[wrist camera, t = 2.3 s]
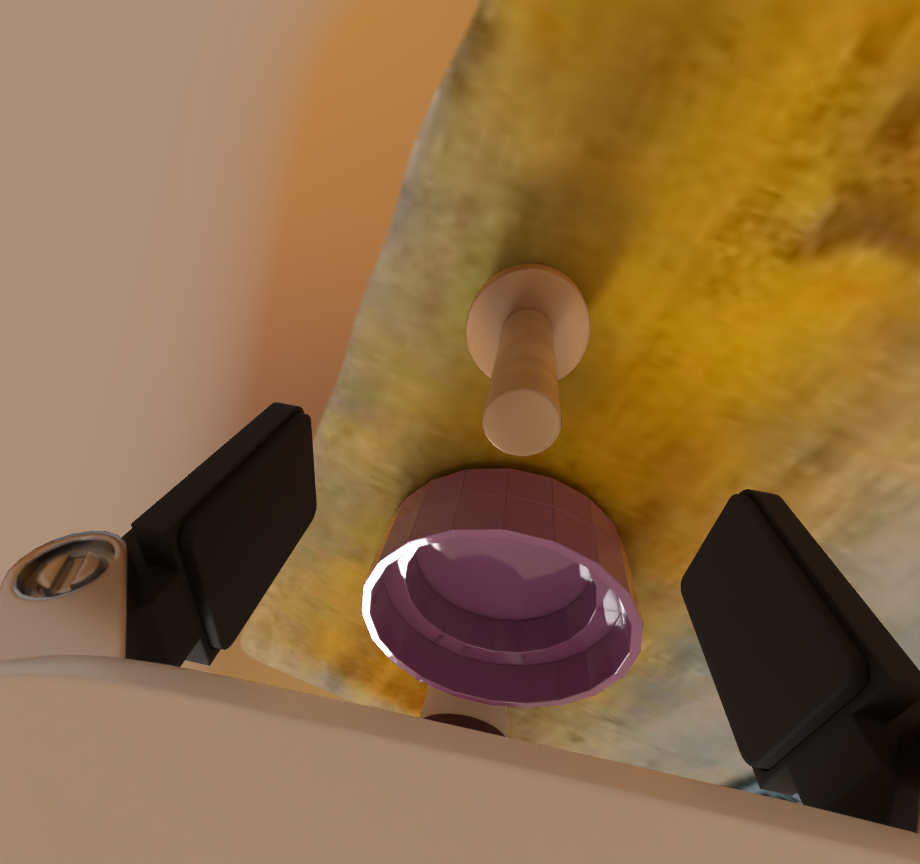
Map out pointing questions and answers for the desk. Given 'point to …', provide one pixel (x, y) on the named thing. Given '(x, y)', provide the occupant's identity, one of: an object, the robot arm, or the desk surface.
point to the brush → (526, 352)
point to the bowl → (504, 591)
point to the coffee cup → (464, 713)
